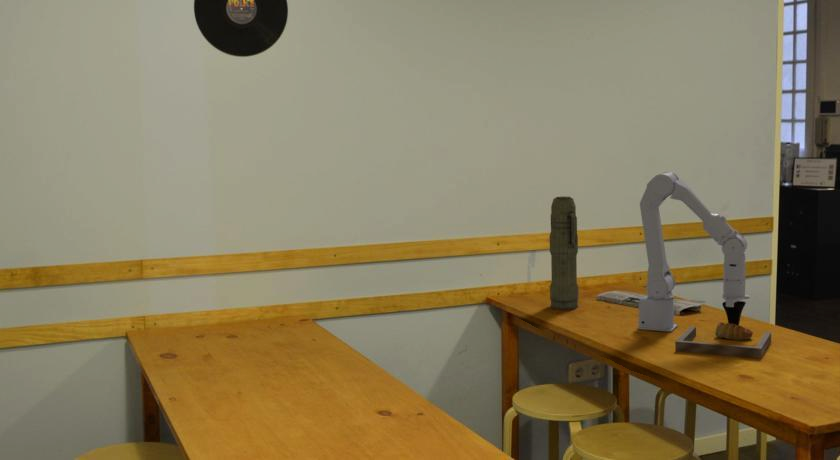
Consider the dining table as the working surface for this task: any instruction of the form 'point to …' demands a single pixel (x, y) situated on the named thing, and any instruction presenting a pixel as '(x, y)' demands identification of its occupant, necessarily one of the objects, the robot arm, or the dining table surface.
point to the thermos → (564, 254)
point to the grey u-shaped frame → (721, 346)
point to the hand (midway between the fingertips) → (733, 328)
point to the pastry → (732, 331)
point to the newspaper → (634, 298)
